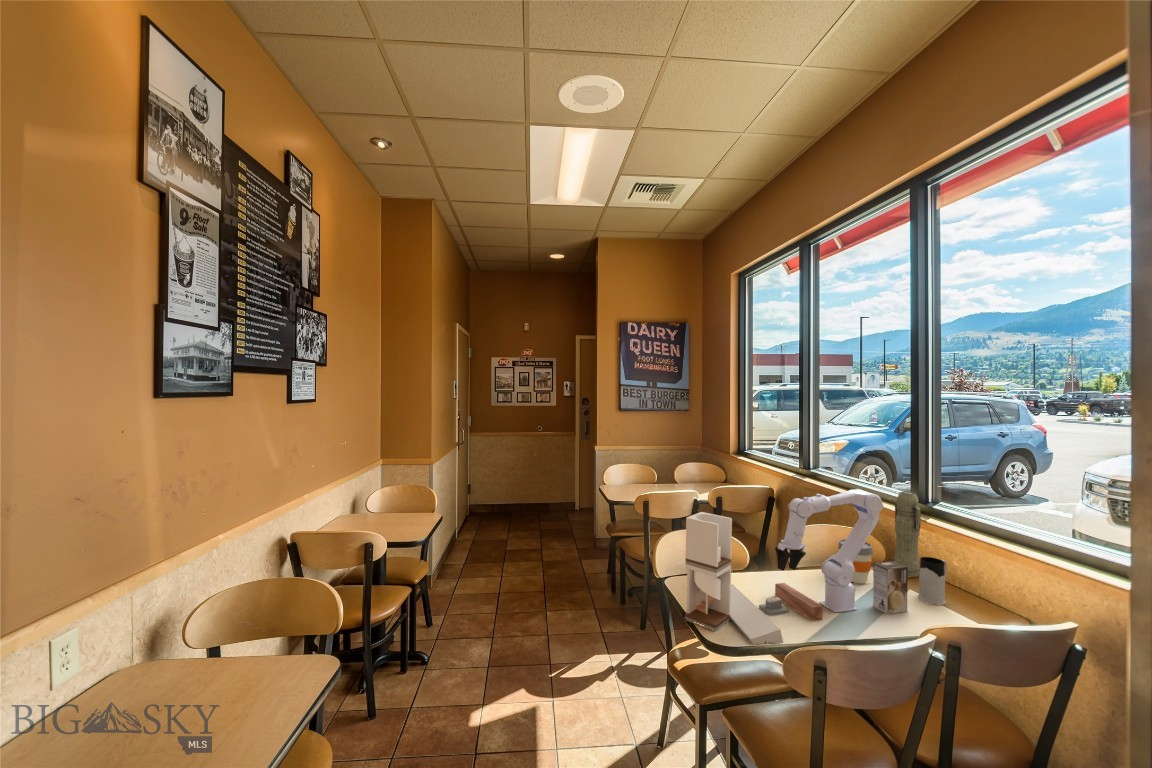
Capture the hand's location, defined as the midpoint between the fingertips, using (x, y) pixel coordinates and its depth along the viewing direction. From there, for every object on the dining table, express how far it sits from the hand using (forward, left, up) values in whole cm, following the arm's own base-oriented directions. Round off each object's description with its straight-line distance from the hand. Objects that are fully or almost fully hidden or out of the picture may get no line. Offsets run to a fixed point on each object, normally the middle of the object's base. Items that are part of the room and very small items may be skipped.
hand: (786, 569), depth 178 cm
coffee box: (-37, +9, -15) cm, 41 cm away
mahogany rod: (-5, 0, -15) cm, 15 cm away
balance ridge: (+5, 0, -14) cm, 15 cm away
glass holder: (-62, +6, -15) cm, 64 cm away
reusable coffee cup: (-46, -16, -15) cm, 51 cm away
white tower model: (+32, +1, -15) cm, 35 cm away
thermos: (-73, -16, -15) cm, 76 cm away
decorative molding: (+19, +2, -15) cm, 25 cm away
